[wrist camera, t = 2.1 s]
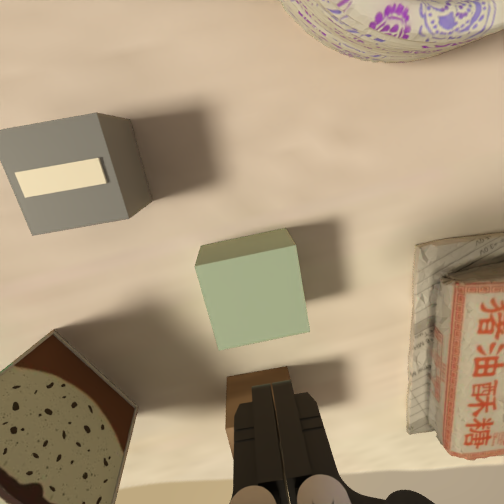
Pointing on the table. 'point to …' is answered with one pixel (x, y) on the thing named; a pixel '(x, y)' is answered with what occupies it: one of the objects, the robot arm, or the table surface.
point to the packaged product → (458, 345)
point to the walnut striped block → (247, 393)
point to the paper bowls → (396, 25)
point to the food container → (61, 428)
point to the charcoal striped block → (75, 171)
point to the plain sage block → (252, 288)
